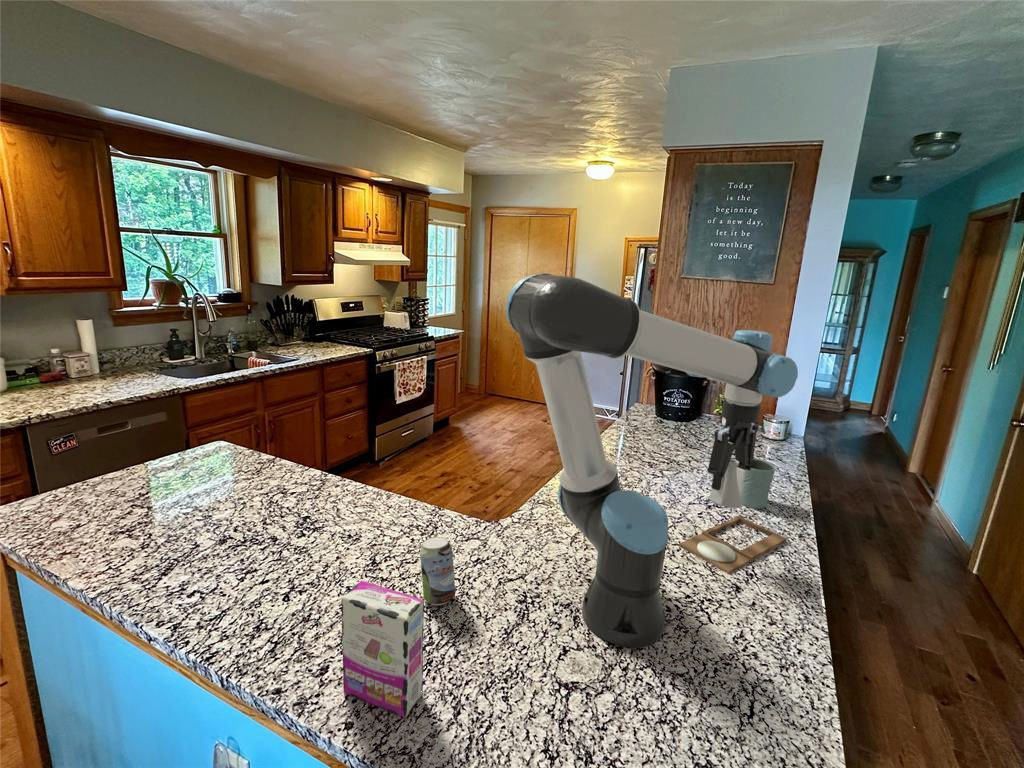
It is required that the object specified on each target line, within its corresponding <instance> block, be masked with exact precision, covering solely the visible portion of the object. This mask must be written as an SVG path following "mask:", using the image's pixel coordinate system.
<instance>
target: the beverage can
mask: <svg viewBox="0 0 1024 768" xmlns="http://www.w3.org/2000/svg"><path fill="white" fill-rule="evenodd" d="M419 556H420V558H419V559H420V568H421V579H422V580H421V581H422V582H421V583H422V594H423V600H424V599H425V600H426V601H427V602H426V601H425V600H424V601H425V602H426V603H428V602H429V603H428V604H430V603H431V604H430V605H432V606H442V605H446V604H447V603H449V602H450V601H452V600H453V599H454V598H455V595H456V585H455V583H456V582H455V569H454V558H453V546H452V544H451V543H450V542H449V539H448V538H447V537H443V536H434V537H430V538H427V539H425V540H424V541H423V542H422V546H421V547H420V550H419Z"/></svg>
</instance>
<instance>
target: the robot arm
mask: <svg viewBox="0 0 1024 768" xmlns="http://www.w3.org/2000/svg"><path fill="white" fill-rule="evenodd" d="M505 313H506V318H507V321H508V323H509V324H510V326H511V327H512V329H513V330H514V331H515V332H516V333H517V334H518V335H519V340H520V342H521V346H522V350H523V354H524V357H525V358H526V359H527V360H529V361H530V362H533V363H534V364H535V367H536V370H537V374H538V377H539V381H540V385H541V388H542V392H543V396H544V399H545V403H546V406H547V412H548V415H549V418H550V421H551V425H552V429H553V433H554V436H555V441H556V445H557V447H558V452H559V455H560V458H561V463H562V466H563V467H562V468H563V470H562V471H561V473H560V474H559V485H558V491H557V499H558V503H559V506H560V508H561V511H562V512H563V514H564V515H565V518H567V519H568V520H569V522H571V523H572V524H574V526H576V528H577V529H578V530H579V531H580V532H581V534H583V535H584V537H585V538H586V539H587V540H588V542H590V543H591V545H593V547H594V548H595V549H596V551H597V555H596V556H597V557H596V559H597V560H596V565H595V566H596V569H595V575H594V576H593V579H592V580H591V583H590V584H589V587H588V588H587V590H586V592H585V595H584V596H583V600H582V607H581V616H582V618H583V621H584V623H585V625H586V626H587V628H589V630H590V631H591V632H592V633H594V635H596V636H597V637H599V638H601V640H604V641H606V642H609V643H610V644H613V645H616V646H620V647H625V648H643V647H648V646H650V645H653V644H655V643H656V642H658V641H659V640H660V639H661V638H662V636H663V633H664V629H665V623H666V614H665V611H664V607H663V602H662V596H661V592H660V591H661V590H660V589H661V587H660V586H661V580H662V575H663V574H662V573H663V569H664V562H665V556H666V551H667V544H668V540H669V519H668V518H669V517H668V514H667V512H666V511H665V509H664V507H663V506H662V505H661V504H660V503H659V502H658V501H657V500H656V499H654V498H652V497H650V496H649V495H646V494H645V495H643V494H641V493H640V492H638V491H633V490H623V489H622V487H621V483H620V479H619V475H618V471H617V467H616V465H615V464H614V463H613V462H612V461H610V460H608V459H606V458H607V457H606V454H605V449H604V445H603V442H602V441H603V440H602V436H601V432H600V428H599V424H598V419H597V416H596V411H595V407H594V402H593V397H592V393H591V389H590V386H589V382H588V377H587V372H586V367H585V364H584V360H583V356H582V353H588V354H594V355H598V356H599V355H600V356H603V357H607V358H611V359H620V358H622V357H624V356H627V357H631V358H634V359H638V360H641V361H644V362H645V361H646V362H649V363H652V364H656V365H659V366H663V367H668V368H671V369H674V370H677V371H681V372H685V373H686V374H687V375H688V376H690V377H697V378H707V379H709V380H713V381H717V382H721V383H725V389H724V394H723V397H724V398H725V399H724V400H723V401H722V407H721V413H720V414H721V417H722V418H724V420H725V423H724V424H723V427H722V428H723V429H722V430H720V429H716V430H715V431H714V441H713V445H712V451H711V454H710V459H709V463H708V468H707V473H709V474H711V475H712V482H711V487H710V494H709V496H710V499H709V498H708V500H709V501H710V502H712V501H713V502H715V503H717V504H719V505H718V506H720V505H721V504H722V502H723V496H724V490H725V484H726V478H727V477H726V476H725V473H726V470H727V468H728V465H729V462H730V459H732V457H733V454H734V457H735V460H737V461H739V465H738V466H737V482H738V488H739V492H740V497H741V493H742V488H743V482H744V477H745V471H746V470H749V471H750V470H751V467H750V466H748V465H752V463H753V458H755V457H754V455H755V447H756V439H757V433H758V430H759V425H758V424H755V423H757V422H758V421H759V418H760V412H761V405H760V404H761V403H762V400H763V396H768V397H773V398H782V397H784V396H785V395H787V394H789V393H790V392H791V391H792V390H793V389H794V388H795V385H796V382H797V379H798V375H799V369H798V366H797V364H796V361H794V360H793V359H792V358H790V357H789V356H785V355H782V354H780V353H773V352H772V345H773V337H772V335H771V334H770V333H769V332H766V331H759V330H752V329H751V330H750V329H739V330H736V331H735V332H734V335H733V338H732V339H729V338H726V337H723V336H720V335H716V334H714V333H711V332H707V331H705V330H702V329H699V328H695V327H693V326H689V325H686V324H685V323H684V324H683V323H680V322H678V321H674V320H671V319H668V318H666V317H663V316H660V315H656V314H653V313H650V312H647V311H644V310H641V309H640V307H639V305H638V304H637V303H636V301H634V300H631V299H629V298H626V297H623V296H620V295H619V294H616V293H614V292H611V291H608V290H607V289H604V288H602V287H599V286H597V285H596V284H593V283H591V282H588V281H586V280H584V279H581V278H578V277H574V276H564V275H554V274H551V273H543V272H542V273H537V274H531V275H528V276H525V277H524V278H522V279H520V280H519V281H518V282H516V284H514V286H513V287H512V288H511V290H510V292H509V294H508V296H507V299H506V303H505ZM748 458H749V459H748ZM745 469H746V470H745ZM713 502H712V503H713ZM717 504H716V505H717Z"/></svg>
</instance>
